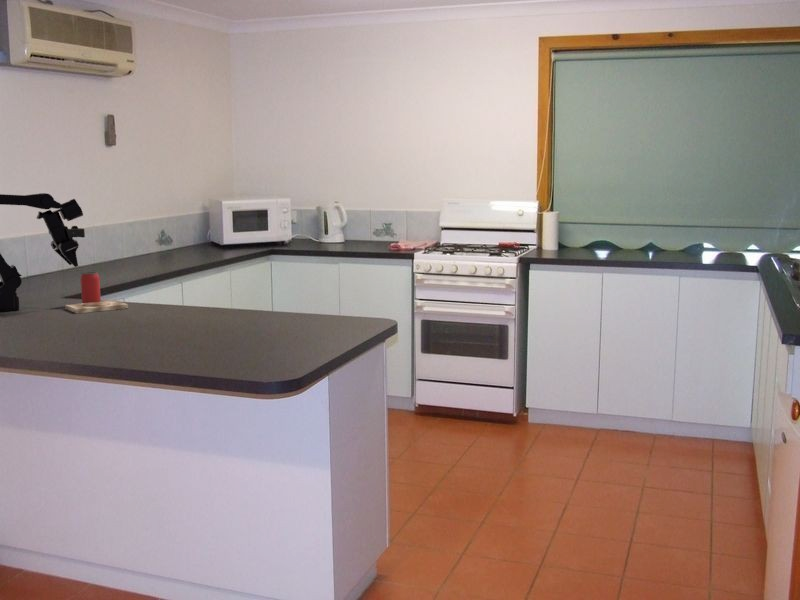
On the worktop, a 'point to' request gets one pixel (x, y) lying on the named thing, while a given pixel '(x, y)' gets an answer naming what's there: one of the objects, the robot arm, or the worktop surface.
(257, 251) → the worktop surface
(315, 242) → the worktop surface
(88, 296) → the beer can
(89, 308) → the ash board
